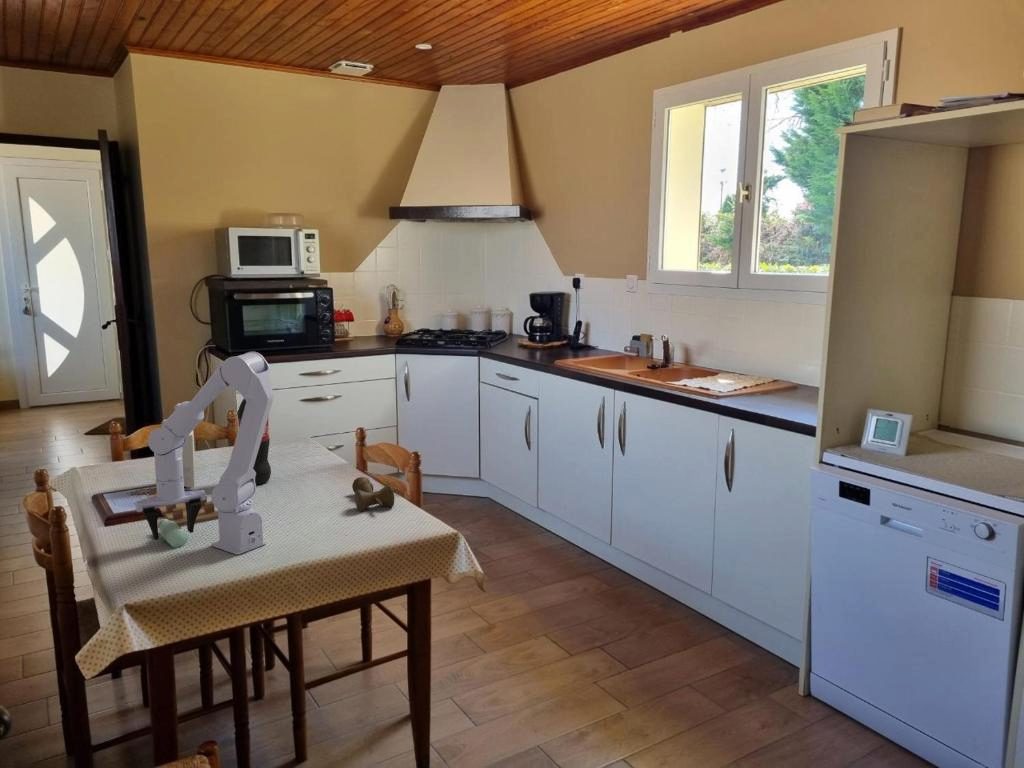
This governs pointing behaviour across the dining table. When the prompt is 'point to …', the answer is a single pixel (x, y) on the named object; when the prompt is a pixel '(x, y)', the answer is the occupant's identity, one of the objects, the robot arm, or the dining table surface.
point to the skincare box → (189, 461)
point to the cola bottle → (259, 451)
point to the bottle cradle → (180, 514)
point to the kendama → (371, 494)
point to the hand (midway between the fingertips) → (173, 535)
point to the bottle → (172, 533)
